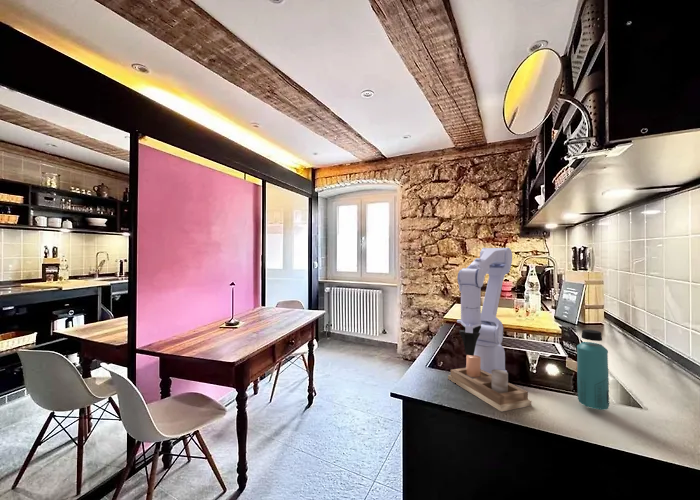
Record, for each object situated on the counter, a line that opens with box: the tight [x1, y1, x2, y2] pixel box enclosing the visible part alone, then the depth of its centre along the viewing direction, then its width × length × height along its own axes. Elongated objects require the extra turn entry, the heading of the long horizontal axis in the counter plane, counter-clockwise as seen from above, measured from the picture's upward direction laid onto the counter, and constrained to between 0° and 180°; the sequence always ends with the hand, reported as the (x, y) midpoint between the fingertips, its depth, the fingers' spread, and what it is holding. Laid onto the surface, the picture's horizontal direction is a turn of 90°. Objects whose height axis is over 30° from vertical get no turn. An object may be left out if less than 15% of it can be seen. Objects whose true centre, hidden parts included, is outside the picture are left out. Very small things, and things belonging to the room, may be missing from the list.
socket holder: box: [447, 367, 532, 412], centre depth 88 cm, size 10×21×7 cm, turn 19°
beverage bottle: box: [576, 329, 611, 411], centre depth 78 cm, size 6×7×20 cm
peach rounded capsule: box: [465, 355, 481, 379], centre depth 92 cm, size 4×4×7 cm
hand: (470, 351), depth 94 cm, fingers open, 7 cm apart
